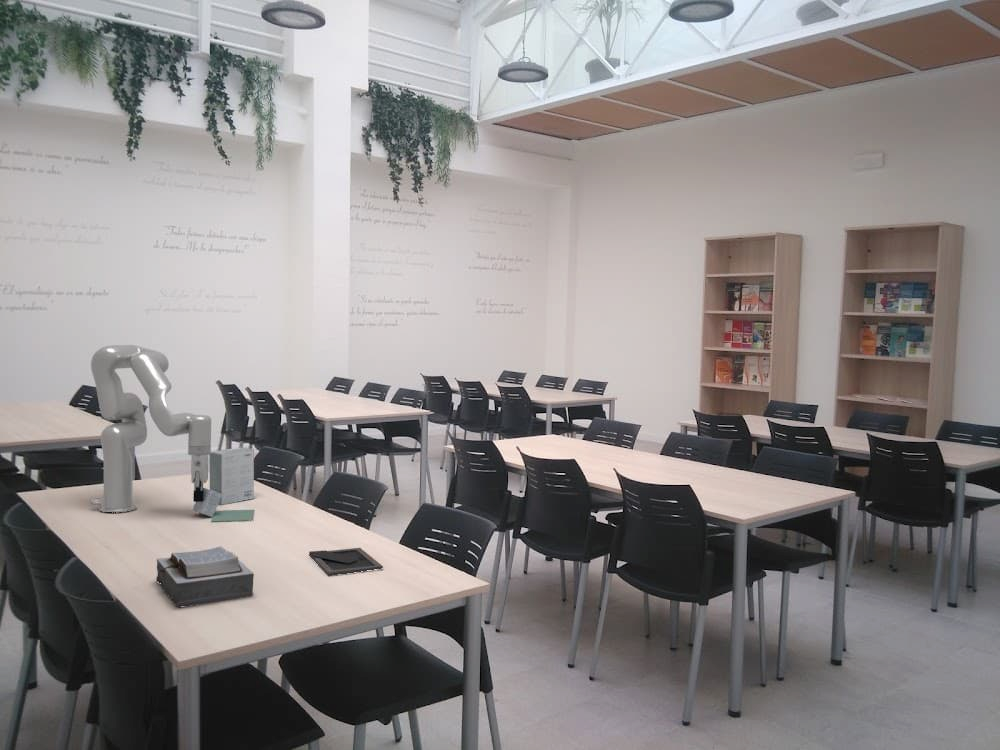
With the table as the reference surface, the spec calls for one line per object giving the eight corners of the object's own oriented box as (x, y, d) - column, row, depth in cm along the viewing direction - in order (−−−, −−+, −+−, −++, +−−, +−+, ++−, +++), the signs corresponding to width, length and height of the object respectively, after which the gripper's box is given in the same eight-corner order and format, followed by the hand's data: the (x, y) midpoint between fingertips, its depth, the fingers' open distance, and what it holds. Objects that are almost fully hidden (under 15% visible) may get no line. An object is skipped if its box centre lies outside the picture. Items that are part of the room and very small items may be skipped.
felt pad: (211, 522, 280) (211, 521, 280) (214, 511, 295) (214, 510, 295) (253, 521, 284) (253, 519, 283) (254, 510, 299) (254, 509, 299)
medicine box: (212, 517, 286) (223, 494, 289) (201, 513, 284) (212, 490, 286) (202, 513, 292) (213, 491, 294) (191, 509, 289) (202, 486, 291)
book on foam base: (155, 611, 195) (155, 571, 194) (155, 578, 220) (155, 542, 219) (255, 601, 204) (255, 563, 204) (244, 570, 229) (244, 536, 228)
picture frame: (308, 557, 243) (328, 578, 225) (309, 551, 243) (328, 571, 225) (359, 552, 251) (382, 571, 232) (360, 546, 251) (382, 564, 232)
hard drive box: (242, 496, 322) (243, 447, 321) (254, 499, 318) (255, 449, 317) (208, 502, 310) (209, 451, 309) (220, 505, 305) (221, 453, 304)
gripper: (208, 453, 279) (207, 505, 280) (212, 446, 293) (211, 496, 294) (185, 453, 277) (184, 506, 278) (190, 446, 291) (189, 496, 292)
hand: (198, 501), depth 286 cm, fingers closed
